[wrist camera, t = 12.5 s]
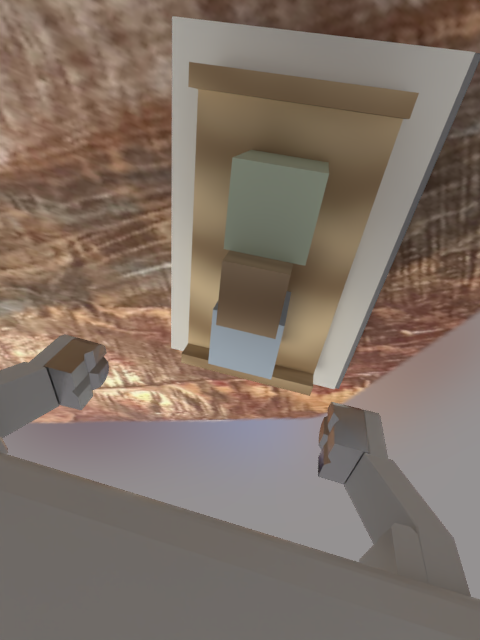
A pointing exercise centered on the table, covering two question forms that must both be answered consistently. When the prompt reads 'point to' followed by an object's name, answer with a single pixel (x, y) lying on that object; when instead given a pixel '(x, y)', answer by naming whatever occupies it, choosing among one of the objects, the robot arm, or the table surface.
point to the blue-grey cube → (245, 347)
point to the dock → (400, 174)
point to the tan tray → (333, 220)
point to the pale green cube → (274, 205)
